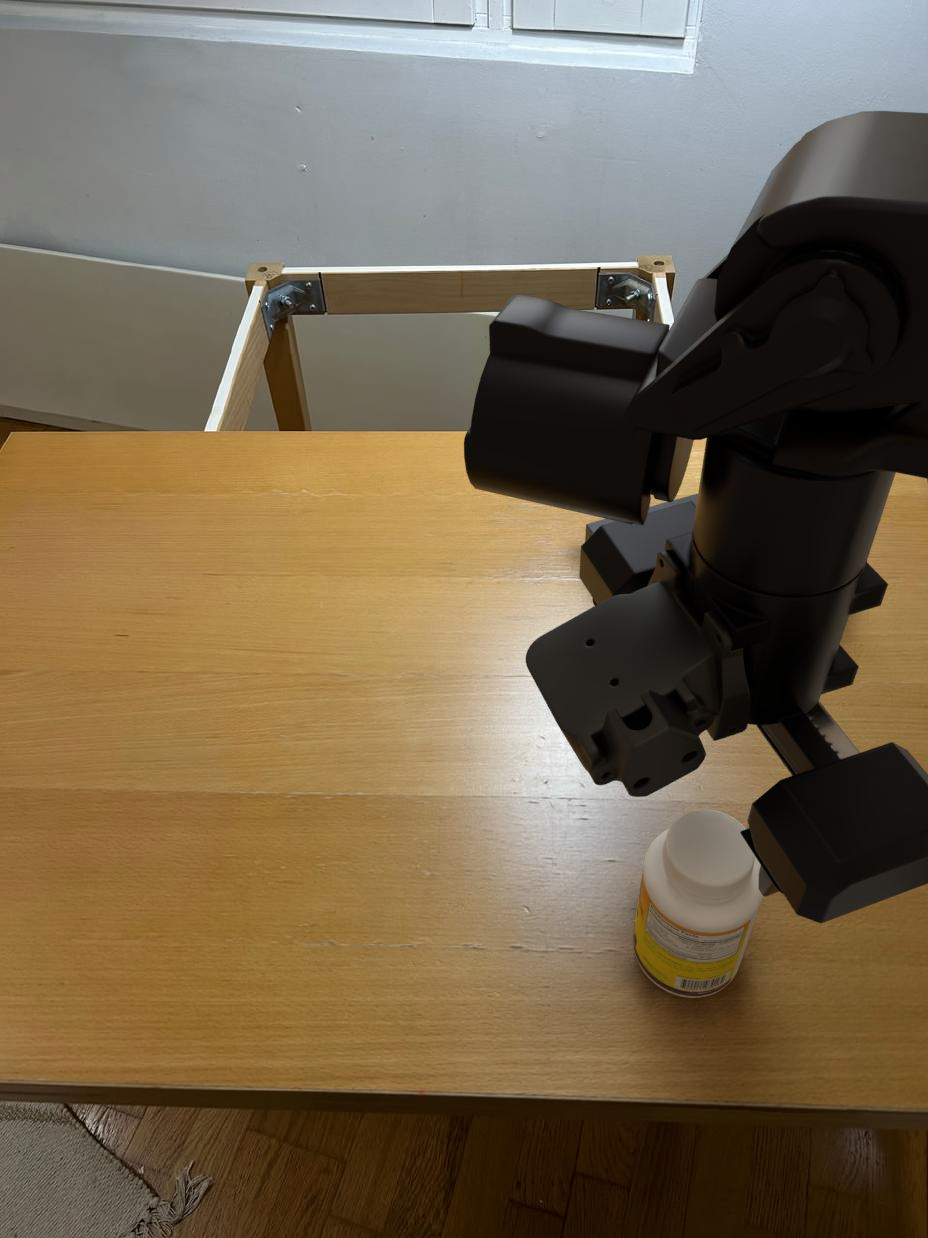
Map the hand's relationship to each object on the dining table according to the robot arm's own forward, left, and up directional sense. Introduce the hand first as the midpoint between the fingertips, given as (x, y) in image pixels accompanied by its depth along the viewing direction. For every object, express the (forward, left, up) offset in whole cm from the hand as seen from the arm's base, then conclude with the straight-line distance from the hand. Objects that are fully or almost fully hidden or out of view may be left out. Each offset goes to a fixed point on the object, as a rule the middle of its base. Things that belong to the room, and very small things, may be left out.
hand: (716, 803), depth 44 cm
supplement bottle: (-1, +1, -12) cm, 12 cm away
